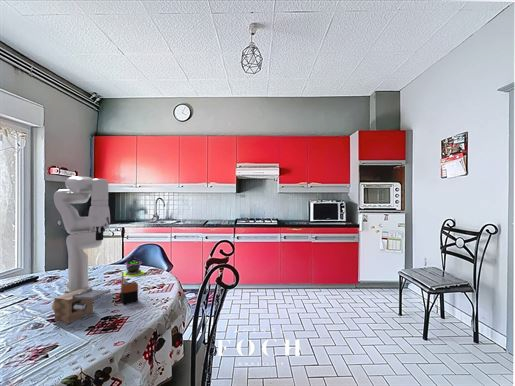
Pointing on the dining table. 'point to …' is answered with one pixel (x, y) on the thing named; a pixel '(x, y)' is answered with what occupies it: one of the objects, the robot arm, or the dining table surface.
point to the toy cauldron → (133, 269)
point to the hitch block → (65, 307)
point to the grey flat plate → (90, 294)
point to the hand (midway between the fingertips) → (99, 240)
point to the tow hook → (121, 286)
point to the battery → (129, 292)
